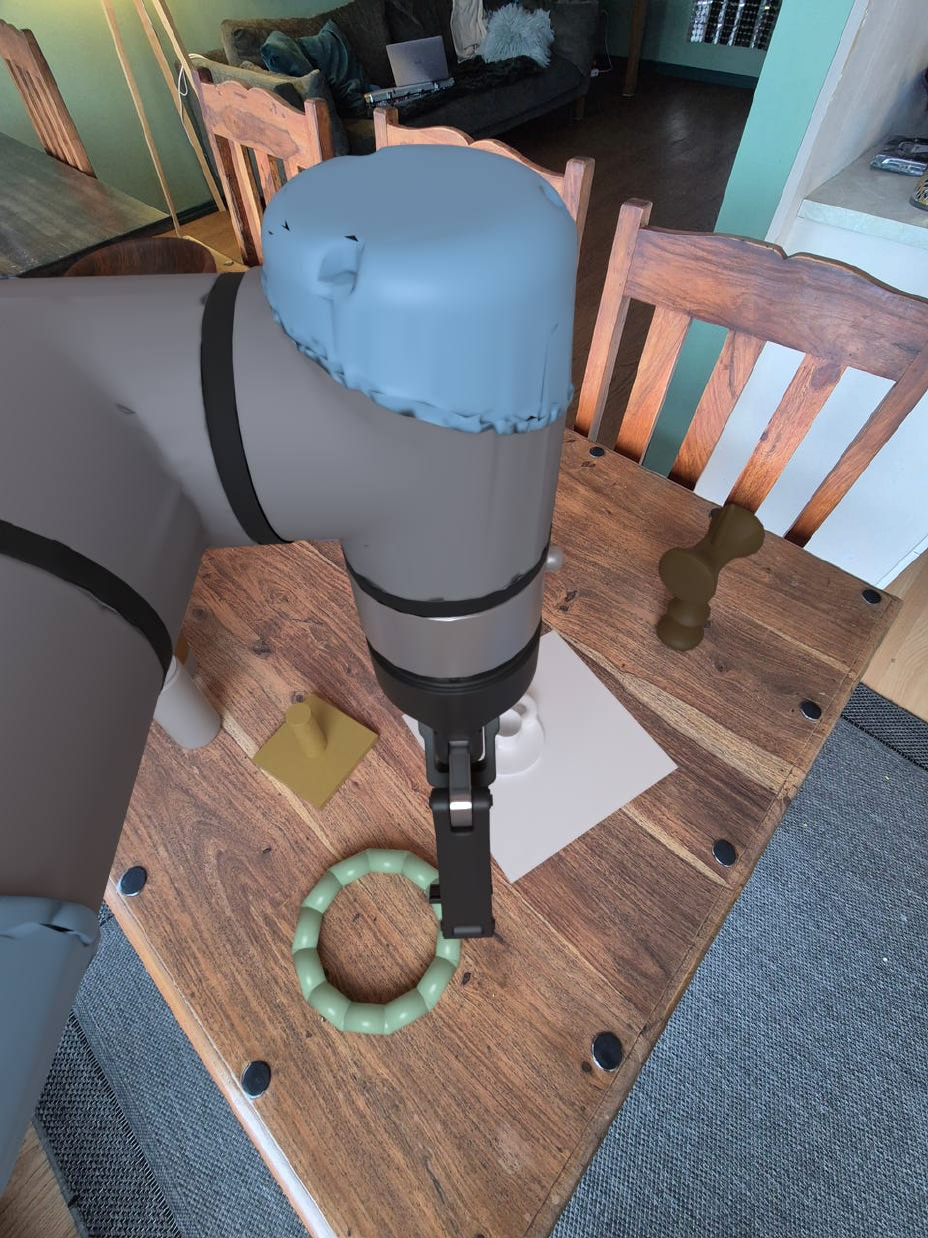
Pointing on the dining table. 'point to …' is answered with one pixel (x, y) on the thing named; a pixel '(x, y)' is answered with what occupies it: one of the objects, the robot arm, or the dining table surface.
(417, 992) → the ring
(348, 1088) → the dining table surface
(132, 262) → the wooden bowl
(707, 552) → the kendama
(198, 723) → the beverage can
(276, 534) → the robot arm
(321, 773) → the post
